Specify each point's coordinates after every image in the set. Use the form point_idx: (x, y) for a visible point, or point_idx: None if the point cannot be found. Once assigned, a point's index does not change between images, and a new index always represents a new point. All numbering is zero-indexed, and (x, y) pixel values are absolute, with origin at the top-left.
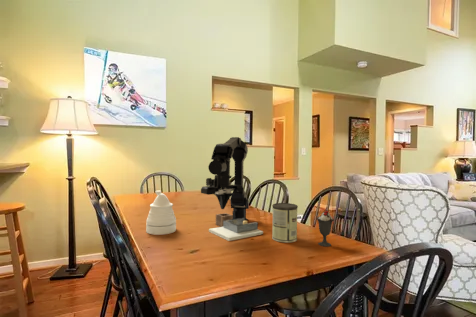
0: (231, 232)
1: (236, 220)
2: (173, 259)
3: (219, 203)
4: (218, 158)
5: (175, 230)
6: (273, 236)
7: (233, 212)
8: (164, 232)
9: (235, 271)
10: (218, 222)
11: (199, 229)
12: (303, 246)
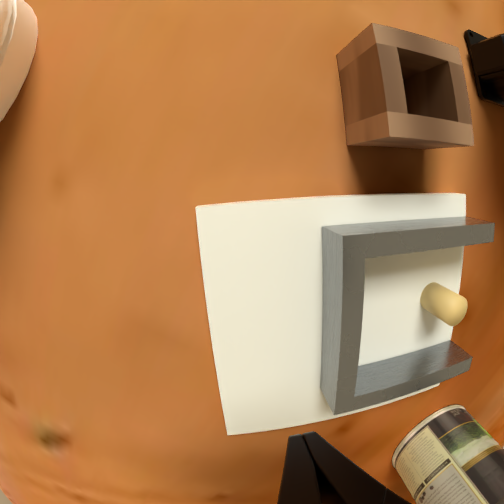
0: (300, 363)
1: (440, 247)
2: (4, 446)
3: (280, 492)
4: None
5: (16, 95)
6: (404, 452)
7: (499, 46)
8: None
9: None
10: (351, 86)
11: (158, 115)
12: (402, 490)
